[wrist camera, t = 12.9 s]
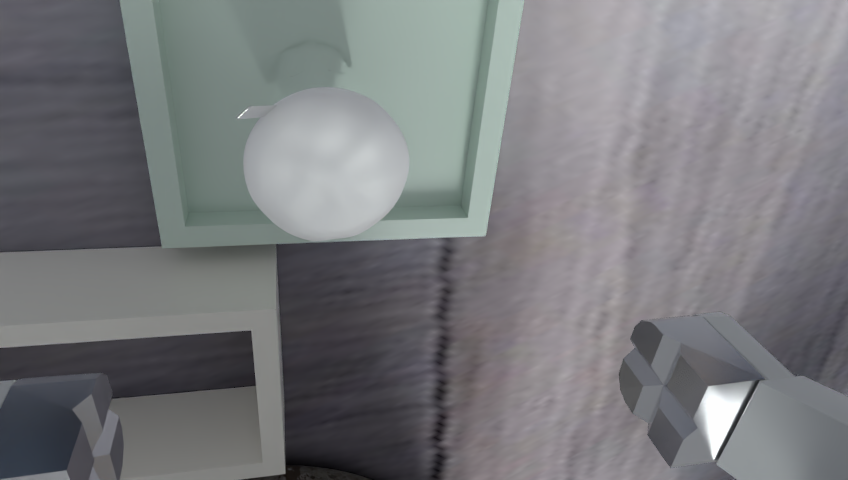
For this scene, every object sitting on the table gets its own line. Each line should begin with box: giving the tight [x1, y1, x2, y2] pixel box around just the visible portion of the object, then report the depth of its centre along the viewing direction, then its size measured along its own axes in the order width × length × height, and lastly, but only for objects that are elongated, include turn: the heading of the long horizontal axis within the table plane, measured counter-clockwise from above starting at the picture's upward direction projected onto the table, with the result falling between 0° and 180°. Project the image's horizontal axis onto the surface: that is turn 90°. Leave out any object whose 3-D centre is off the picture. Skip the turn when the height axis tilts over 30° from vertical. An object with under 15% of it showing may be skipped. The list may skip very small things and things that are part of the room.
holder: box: [0, 244, 285, 480], centre depth 26 cm, size 15×10×5 cm, turn 85°
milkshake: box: [236, 41, 409, 241], centre depth 19 cm, size 4×5×10 cm
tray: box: [119, 0, 524, 248], centre depth 23 cm, size 14×14×2 cm
